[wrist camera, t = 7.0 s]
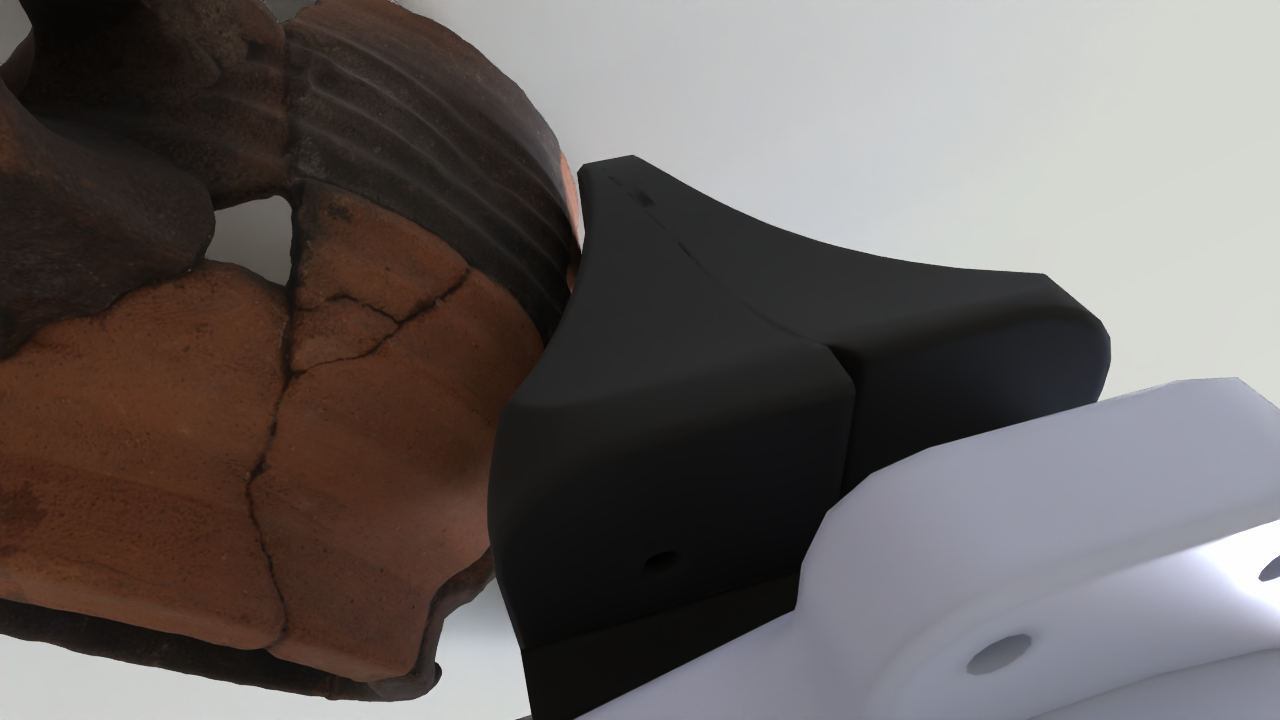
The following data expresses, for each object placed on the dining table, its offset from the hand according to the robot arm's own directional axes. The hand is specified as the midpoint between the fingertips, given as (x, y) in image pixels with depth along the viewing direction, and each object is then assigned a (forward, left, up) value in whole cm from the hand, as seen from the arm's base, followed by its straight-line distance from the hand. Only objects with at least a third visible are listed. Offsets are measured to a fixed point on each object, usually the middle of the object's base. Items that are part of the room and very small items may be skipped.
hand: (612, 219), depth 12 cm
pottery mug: (0, +5, -2) cm, 6 cm away
